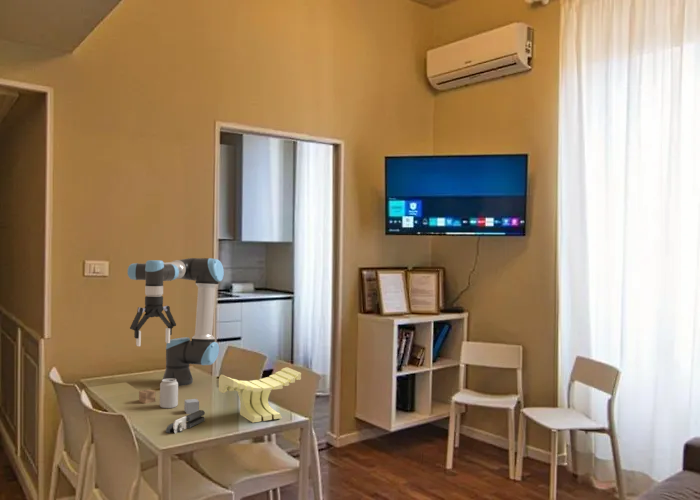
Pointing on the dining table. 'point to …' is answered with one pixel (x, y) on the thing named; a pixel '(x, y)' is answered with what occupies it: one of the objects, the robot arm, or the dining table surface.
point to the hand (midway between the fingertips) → (153, 344)
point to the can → (168, 393)
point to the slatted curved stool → (258, 393)
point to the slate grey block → (191, 406)
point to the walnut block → (147, 396)
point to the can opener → (183, 424)
